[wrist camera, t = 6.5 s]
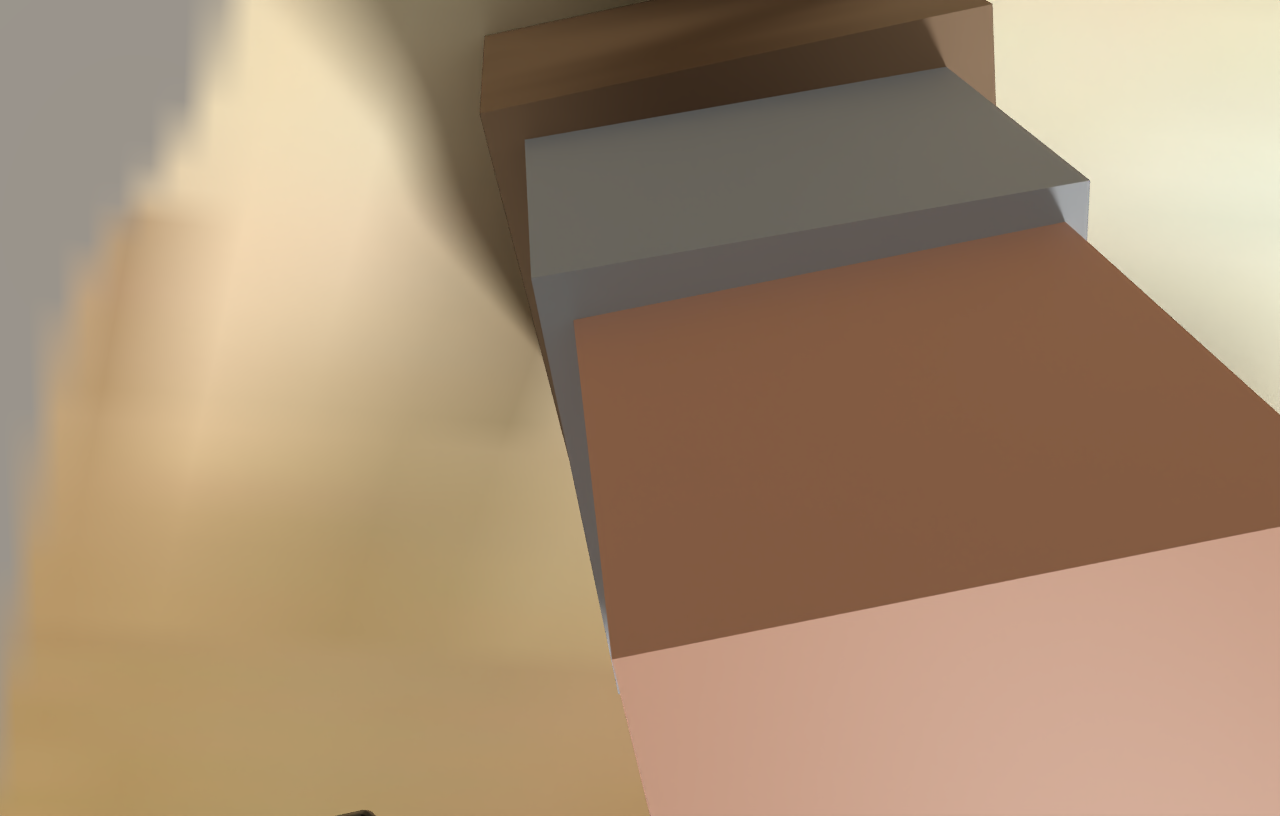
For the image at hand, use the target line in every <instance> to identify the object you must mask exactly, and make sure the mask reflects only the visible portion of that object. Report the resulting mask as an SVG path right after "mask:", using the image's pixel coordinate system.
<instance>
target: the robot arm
mask: <svg viewBox="0 0 1280 816" xmlns="http://www.w3.org/2000/svg"><path fill="white" fill-rule="evenodd" d="M337 816H375V815H374V813H373V812H371V811H369V810H360V811H356V812H351V813H346V814H342V815H337Z"/></svg>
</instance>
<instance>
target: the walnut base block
mask: <svg viewBox="0 0 1280 816" xmlns="http://www.w3.org/2000/svg"><path fill="white" fill-rule="evenodd" d="M941 67H947V68H948V69H950V70H951V71H952V72H954V73H955V74H956V75H957V76H959V77H960V78H961V79H962V80H964V81H965V82H966V83H967V84H969V85H970V86H971V87H972V88H974V89H975V90H976V91H978V92H979V93H980V94H981V95H983V96H984V97H985V98H986V99H988V100H989V101H990V102H991V103H993V104H994V105H995V106H996V96H995V66H994V36H993V7H992V4H991V3H990V2H988V1H986V0H651V1H646V2H641V3H637V4H632V5H627V6H623V7H618V8H613V9H609V10H604V11H599V12H595V13H590V14H585V15H581V16H576V17H571V18H567V19H562V20H557V21H553V22H548V23H543V24H539V25H534V26H529V27H525V28H520V29H515V30H511V31H506V32H501V33H497V34H492V35H487V36H485V40H484V55H483V70H482V85H481V101H480V117H481V121H482V124H483V128H484V132H485V136H486V140H487V144H488V148H489V152H490V155H491V159H492V163H493V167H494V171H495V175H496V179H497V183H498V186H499V190H500V194H501V198H502V202H503V206H504V210H505V213H506V217H507V221H508V225H509V229H510V233H511V237H512V241H513V244H514V248H515V252H516V256H517V260H518V264H519V268H520V271H521V275H522V279H523V283H524V287H525V291H526V295H527V299H528V302H529V306H530V310H531V314H532V318H533V322H534V326H535V329H536V333H537V337H538V341H539V345H540V349H541V353H542V357H543V360H544V364H545V368H546V372H547V376H548V380H549V384H550V387H551V391H552V395H553V399H554V403H555V407H556V411H557V415H558V418H559V422H560V426H561V430H562V434H563V438H564V442H565V437H564V432H563V428H562V423H561V418H560V413H559V408H558V404H557V399H556V394H555V389H554V385H553V380H552V375H551V370H550V366H549V361H548V356H547V351H546V347H545V342H544V337H543V332H542V328H541V323H540V318H539V313H538V309H537V304H536V299H535V294H534V289H533V285H532V280H531V265H530V243H529V222H528V200H527V179H526V158H525V140H526V139H532V138H538V137H544V136H549V135H555V134H561V133H567V132H572V131H578V130H584V129H590V128H596V127H601V126H607V125H613V124H619V123H624V122H630V121H636V120H642V119H647V118H653V117H659V116H665V115H670V114H676V113H682V112H688V111H694V110H699V109H705V108H711V107H717V106H722V105H728V104H734V103H740V102H745V101H751V100H757V99H763V98H768V97H774V96H780V95H786V94H792V93H797V92H803V91H809V90H815V89H820V88H826V87H832V86H838V85H843V84H849V83H855V82H861V81H866V80H872V79H878V78H884V77H890V76H895V75H901V74H907V73H913V72H918V71H924V70H930V69H936V68H941ZM565 445H566V442H565ZM566 449H567V447H566ZM567 453H568V451H567ZM568 457H569V456H568Z"/></svg>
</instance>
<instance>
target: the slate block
mask: <svg viewBox="0 0 1280 816" xmlns="http://www.w3.org/2000/svg"><path fill="white" fill-rule="evenodd" d="M525 158H526V179H527V200H528V222H529V243H530V265H531V280H532V285H533V289H534V294H535V299H536V304H537V309H538V313H539V318H540V323H541V328H542V332H543V337H544V342H545V347H546V351H547V356H548V361H549V366H550V370H551V375H552V380H553V385H554V389H555V394H556V399H557V404H558V408H559V413H560V418H561V423H562V428H563V432H564V437H565V442H566V447H567V451H568V456H569V461H570V466H571V470H572V475H573V480H574V485H575V489H576V494H577V499H578V504H579V508H580V513H581V518H582V523H583V527H584V532H585V537H586V542H587V546H588V551H589V556H590V561H591V566H592V570H593V575H594V580H595V585H596V589H597V594H598V599H599V604H600V608H601V613H602V618H603V623H604V627H605V632H606V637H607V642H608V646H609V651H610V656H611V648H610V639H609V631H608V622H607V613H606V604H605V595H604V587H603V578H602V569H601V560H600V551H599V542H598V534H597V525H596V516H595V507H594V498H593V489H592V481H591V472H590V463H589V454H588V445H587V436H586V428H585V419H584V410H583V401H582V392H581V384H580V375H579V366H578V357H577V348H576V339H575V331H574V322H573V320H576V319H581V318H586V317H591V316H596V315H601V314H606V313H611V312H616V311H621V310H626V309H631V308H636V307H641V306H646V305H651V304H656V303H661V302H666V301H671V300H676V299H681V298H686V297H691V296H696V295H701V294H706V293H711V292H716V291H721V290H726V289H731V288H736V287H741V286H746V285H751V284H756V283H761V282H766V281H771V280H776V279H781V278H786V277H791V276H796V275H801V274H806V273H811V272H816V271H821V270H826V269H831V268H836V267H841V266H846V265H851V264H856V263H861V262H866V261H871V260H876V259H881V258H886V257H891V256H896V255H901V254H906V253H911V252H916V251H921V250H926V249H931V248H936V247H941V246H946V245H951V244H956V243H961V242H966V241H971V240H976V239H982V238H987V237H992V236H997V235H1002V234H1007V233H1012V232H1017V231H1022V230H1027V229H1032V228H1037V227H1042V226H1047V225H1052V224H1057V223H1062V222H1066V223H1067V224H1068V225H1070V226H1071V227H1072V228H1073V229H1074V230H1075V231H1076V232H1077V233H1078V234H1080V235H1081V236H1082V237H1083V238H1084V239H1085V240H1086V241H1087V231H1088V210H1089V189H1090V180H1089V179H1087V178H1086V177H1085V176H1084V175H1082V174H1081V173H1080V172H1079V171H1077V170H1076V169H1075V168H1074V167H1072V166H1071V165H1070V164H1068V163H1067V162H1066V161H1065V160H1063V159H1062V158H1061V157H1060V156H1058V155H1057V154H1056V153H1055V152H1053V151H1052V150H1051V149H1050V148H1048V147H1047V146H1046V145H1044V144H1043V143H1042V142H1041V141H1039V140H1038V139H1037V138H1036V137H1034V136H1033V135H1032V134H1031V133H1029V132H1028V131H1027V130H1026V129H1024V128H1023V127H1022V126H1020V125H1019V124H1018V123H1017V122H1015V121H1014V120H1013V119H1012V118H1010V117H1009V116H1008V115H1007V114H1005V113H1004V112H1003V111H1002V110H1000V109H999V108H998V107H996V106H995V105H994V104H993V103H991V102H990V101H989V100H988V99H986V98H985V97H984V96H983V95H981V94H980V93H979V92H978V91H976V90H975V89H974V88H972V87H971V86H970V85H969V84H967V83H966V82H965V81H964V80H962V79H961V78H960V77H959V76H957V75H956V74H955V73H954V72H952V71H951V70H950V69H948V68H947V67H941V68H936V69H930V70H924V71H918V72H913V73H907V74H901V75H895V76H890V77H884V78H878V79H872V80H866V81H861V82H855V83H849V84H843V85H838V86H832V87H826V88H820V89H815V90H809V91H803V92H797V93H792V94H786V95H780V96H774V97H768V98H763V99H757V100H751V101H745V102H740V103H734V104H728V105H722V106H717V107H711V108H705V109H699V110H694V111H688V112H682V113H676V114H670V115H665V116H659V117H653V118H647V119H642V120H636V121H630V122H624V123H619V124H613V125H607V126H601V127H596V128H590V129H584V130H578V131H572V132H567V133H561V134H555V135H549V136H544V137H538V138H532V139H526V140H525ZM611 661H612V657H611ZM612 665H613V663H612ZM613 670H614V667H613ZM614 675H615V671H614ZM615 680H616V684H617V689H618V694H620V691H619V687H618V683H617V679H616V675H615Z"/></svg>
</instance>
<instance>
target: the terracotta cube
mask: <svg viewBox="0 0 1280 816" xmlns="http://www.w3.org/2000/svg"><path fill="white" fill-rule="evenodd" d="M573 322H574V331H575V339H576V348H577V357H578V366H579V375H580V384H581V392H582V401H583V410H584V419H585V428H586V436H587V445H588V454H589V463H590V472H591V481H592V489H593V498H594V507H595V516H596V525H597V534H598V542H599V551H600V560H601V569H602V578H603V587H604V595H605V604H606V613H607V622H608V631H609V639H610V648H611V657H612V663H613V667H614V671H615V675H616V679H617V683H618V687H619V691H620V695H621V699H622V703H623V707H624V711H625V715H626V720H627V724H628V728H629V732H630V736H631V740H632V744H633V748H634V752H635V756H636V760H637V764H638V768H639V772H640V776H641V781H642V785H643V789H644V793H645V797H646V801H647V805H648V809H649V813H650V816H1280V415H1279V414H1278V413H1277V412H1276V411H1275V410H1274V409H1273V408H1272V407H1271V406H1269V405H1268V404H1267V403H1266V402H1265V401H1264V400H1263V399H1262V398H1261V397H1259V396H1258V395H1257V394H1256V393H1255V392H1254V391H1253V390H1252V389H1251V388H1249V387H1248V386H1247V385H1246V384H1245V383H1244V382H1243V381H1242V380H1241V379H1239V378H1238V377H1237V376H1236V375H1235V374H1234V373H1233V372H1232V371H1231V370H1229V369H1228V368H1227V367H1226V366H1225V365H1224V364H1223V363H1222V362H1221V361H1219V360H1218V359H1217V358H1216V357H1215V356H1214V355H1213V354H1212V353H1211V352H1209V351H1208V350H1207V349H1206V348H1205V347H1204V346H1203V345H1202V344H1201V343H1199V342H1198V341H1197V340H1196V339H1195V338H1194V337H1193V336H1192V335H1191V334H1189V333H1188V332H1187V331H1186V330H1185V329H1184V328H1183V327H1182V326H1181V325H1179V324H1178V323H1177V322H1176V321H1175V320H1174V319H1173V318H1172V317H1171V316H1169V315H1168V314H1167V313H1166V312H1165V311H1164V310H1163V309H1162V308H1161V307H1159V306H1158V305H1157V304H1156V303H1155V302H1154V301H1153V300H1152V299H1151V298H1149V297H1148V296H1147V295H1146V294H1145V293H1144V292H1143V291H1142V290H1141V289H1139V288H1138V287H1137V286H1136V285H1135V284H1134V283H1133V282H1132V281H1131V280H1129V279H1128V278H1127V277H1126V276H1125V275H1124V274H1123V273H1122V272H1121V271H1119V270H1118V269H1117V268H1116V267H1115V266H1114V265H1113V264H1112V263H1111V262H1109V261H1108V260H1107V259H1106V258H1105V257H1104V256H1103V255H1102V254H1101V253H1099V252H1098V251H1097V250H1096V249H1095V248H1094V247H1093V246H1092V245H1091V244H1089V243H1088V242H1087V241H1086V240H1085V239H1084V238H1083V237H1082V236H1081V235H1080V234H1078V233H1077V232H1076V231H1075V230H1074V229H1073V228H1072V227H1071V226H1070V225H1068V224H1067V223H1066V222H1062V223H1057V224H1052V225H1047V226H1042V227H1037V228H1032V229H1027V230H1022V231H1017V232H1012V233H1007V234H1002V235H997V236H992V237H987V238H982V239H976V240H971V241H966V242H961V243H956V244H951V245H946V246H941V247H936V248H931V249H926V250H921V251H916V252H911V253H906V254H901V255H896V256H891V257H886V258H881V259H876V260H871V261H866V262H861V263H856V264H851V265H846V266H841V267H836V268H831V269H826V270H821V271H816V272H811V273H806V274H801V275H796V276H791V277H786V278H781V279H776V280H771V281H766V282H761V283H756V284H751V285H746V286H741V287H736V288H731V289H726V290H721V291H716V292H711V293H706V294H701V295H696V296H691V297H686V298H681V299H676V300H671V301H666V302H661V303H656V304H651V305H646V306H641V307H636V308H631V309H626V310H621V311H616V312H611V313H606V314H601V315H596V316H591V317H586V318H581V319H576V320H573Z"/></svg>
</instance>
